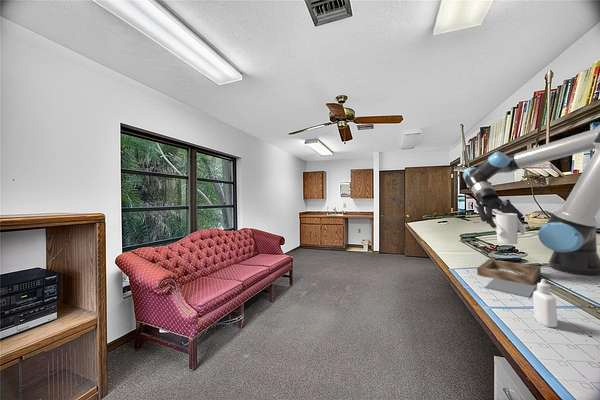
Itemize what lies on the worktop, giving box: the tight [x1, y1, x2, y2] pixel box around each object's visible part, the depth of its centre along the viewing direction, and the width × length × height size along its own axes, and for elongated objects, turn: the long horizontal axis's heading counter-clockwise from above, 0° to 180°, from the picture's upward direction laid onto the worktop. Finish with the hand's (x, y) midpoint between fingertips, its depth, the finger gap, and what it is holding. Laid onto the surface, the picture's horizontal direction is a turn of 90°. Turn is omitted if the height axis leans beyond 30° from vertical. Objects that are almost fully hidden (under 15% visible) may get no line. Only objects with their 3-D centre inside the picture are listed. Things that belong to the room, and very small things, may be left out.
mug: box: [495, 212, 519, 245], centre depth 98 cm, size 10×7×12 cm, turn 125°
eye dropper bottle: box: [532, 278, 558, 328], centre depth 64 cm, size 4×6×12 cm
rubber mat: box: [484, 278, 537, 299], centre depth 86 cm, size 12×12×1 cm
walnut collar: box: [476, 258, 542, 286], centre depth 98 cm, size 17×17×3 cm
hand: (512, 232), depth 95 cm, fingers closed on mug, 8 cm apart
